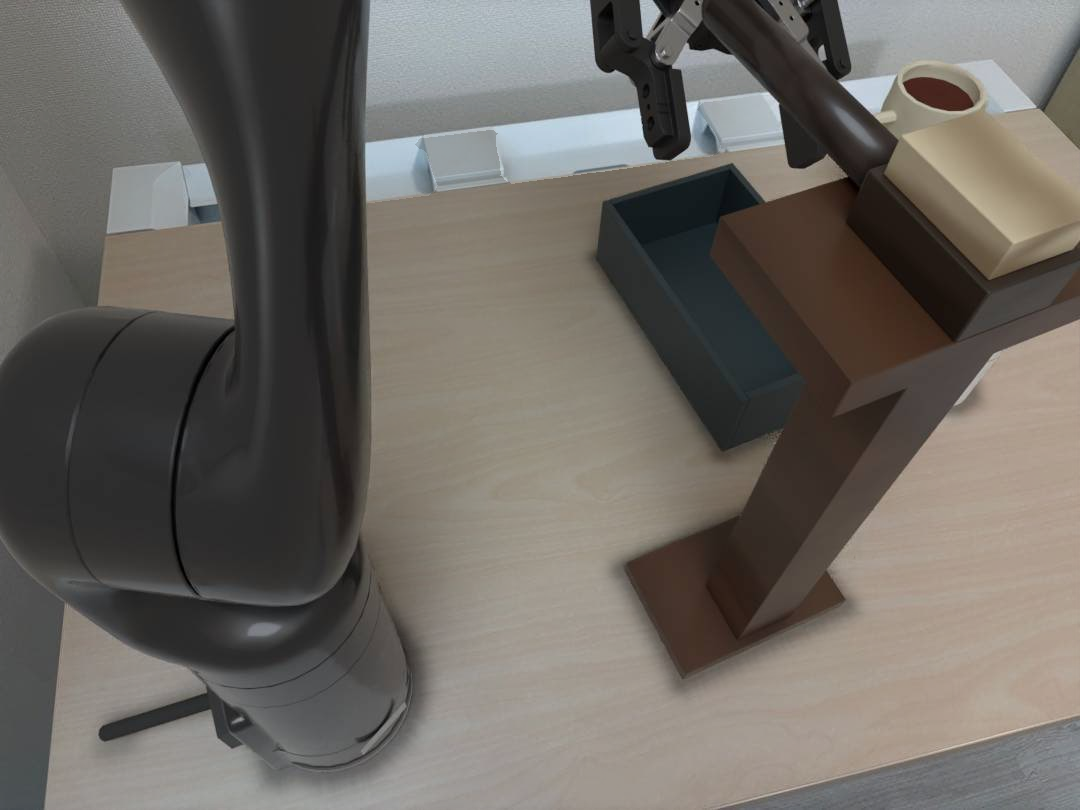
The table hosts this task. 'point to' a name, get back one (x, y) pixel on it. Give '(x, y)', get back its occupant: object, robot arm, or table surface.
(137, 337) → the robot arm
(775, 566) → the stand
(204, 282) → the table surface
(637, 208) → the tote
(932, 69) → the cream coffee mug
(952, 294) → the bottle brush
